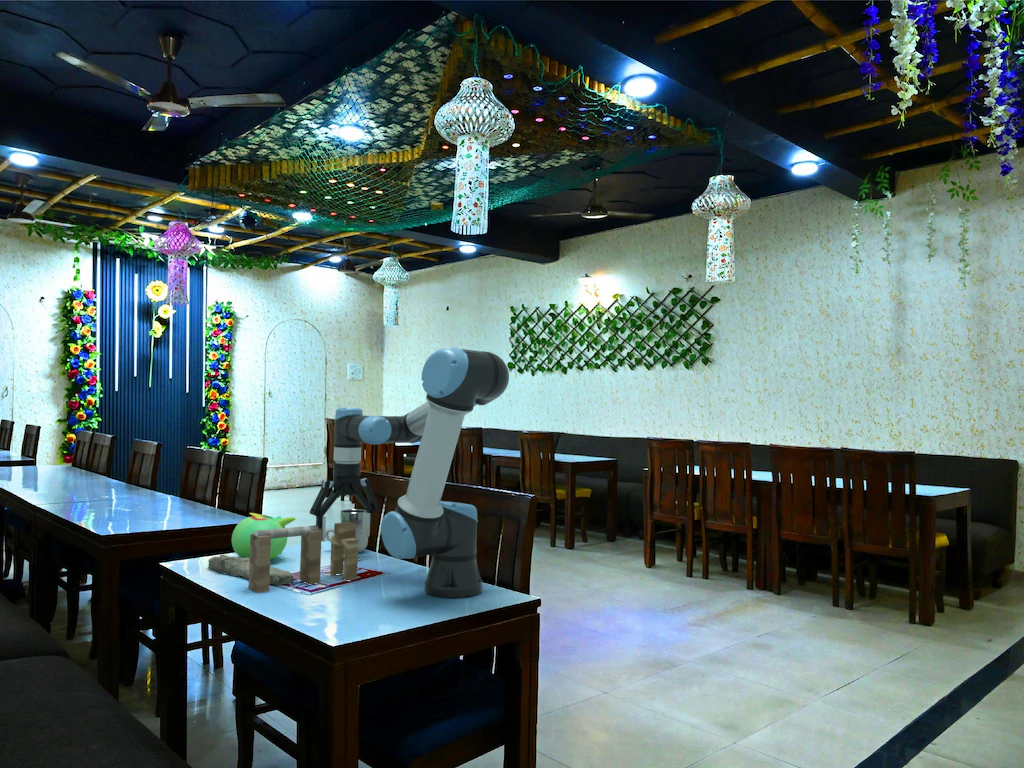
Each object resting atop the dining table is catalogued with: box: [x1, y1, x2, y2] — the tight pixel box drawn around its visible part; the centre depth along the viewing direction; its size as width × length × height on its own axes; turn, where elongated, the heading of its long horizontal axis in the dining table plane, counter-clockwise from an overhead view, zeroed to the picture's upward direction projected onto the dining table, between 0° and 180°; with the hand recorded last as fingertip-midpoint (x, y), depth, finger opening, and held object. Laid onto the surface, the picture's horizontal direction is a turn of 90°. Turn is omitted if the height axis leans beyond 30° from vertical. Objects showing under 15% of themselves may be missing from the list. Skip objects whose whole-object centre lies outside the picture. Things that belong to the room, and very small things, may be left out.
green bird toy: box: [231, 512, 296, 561], centre depth 220 cm, size 18×17×15 cm
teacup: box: [325, 528, 369, 554], centre depth 237 cm, size 14×11×8 cm
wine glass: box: [340, 508, 367, 559], centre depth 226 cm, size 8×8×15 cm
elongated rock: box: [207, 554, 295, 586], centre depth 201 cm, size 35×5×10 cm
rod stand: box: [248, 524, 322, 594], centre depth 190 cm, size 6×17×15 cm, turn 131°
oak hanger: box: [329, 522, 359, 580], centre depth 201 cm, size 10×5×15 cm, turn 41°
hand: (344, 538), depth 201 cm, fingers open, 13 cm apart
